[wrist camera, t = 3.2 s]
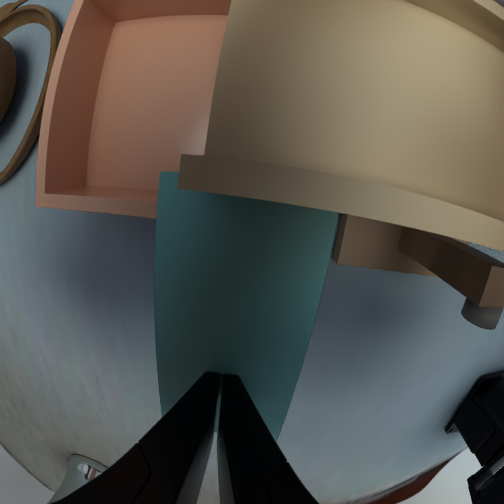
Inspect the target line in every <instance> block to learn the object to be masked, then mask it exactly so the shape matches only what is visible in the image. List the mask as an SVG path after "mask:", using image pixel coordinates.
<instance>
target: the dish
mask: <svg viewBox="0 0 504 504" xmlns="http://www.w3.org/2000/svg"><path fill="white" fill-rule="evenodd" d="M230 5H231V0H75V2H74V4H73V7H72V9H71V12H70V14H69V17H68V19H67V22H66V25H65V27H64V30H63V33H62V36H61V39H60V42H59V45H58V49H57V52H56V55H55V59H54V63H53V66H52V70H51V74H50V78H49V83H48V87H47V92H46V97H45V102H44V108H43V114H42V121H41V128H40V136H39V145H38V156H37V171H36V207H44V208H56V209H67V210H78V211H88V212H99V213H109V214H118V215H128V216H137V217H146V218H155V219H156V214H157V199H158V187H159V176H160V172H164V171H177V172H179V168H180V159H181V154H189V155H201V156H204V153H205V145H206V138H207V131H208V124H209V117H210V110H211V104H212V97H213V91H214V85H215V80H216V74H217V68H218V63H219V57H220V52H221V47H222V42H223V37H224V32H225V27H226V23H227V18H228V14H229V9H230Z"/></svg>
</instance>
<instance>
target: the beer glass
mask: <svg viewBox="0 0 504 504" xmlns="http://www.w3.org/2000/svg"><path fill="white" fill-rule="evenodd" d="M106 469H108V468H107V467H105V466H104V465H102V464H100V463H98V462H96V461H94V460H92V459H90V458H87V457H84V456H81V455H72V456H71V457H70V459H69V463H68V467H67V472H66V475H65V478H64V480H63V482H62V484H61V486H60V487H59V489H58V490H57V491H56V493H55V494H54V495H53V497H52V498H51V499H50V500H49V502H48V503H47V504H49V503H52V502H55V501H58V500H60V499H62V498H64V497H65V496H67V495H69V494H70V493H72V492H74V491H75V490H77V489H78V488H80V487H81V486H83V485H84V484H86V483H87V482H89V481H91V480H92V479H94V478H95V477H96V476H98V475H99V474H101V473H102V472H104V471H105V470H106Z"/></svg>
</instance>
